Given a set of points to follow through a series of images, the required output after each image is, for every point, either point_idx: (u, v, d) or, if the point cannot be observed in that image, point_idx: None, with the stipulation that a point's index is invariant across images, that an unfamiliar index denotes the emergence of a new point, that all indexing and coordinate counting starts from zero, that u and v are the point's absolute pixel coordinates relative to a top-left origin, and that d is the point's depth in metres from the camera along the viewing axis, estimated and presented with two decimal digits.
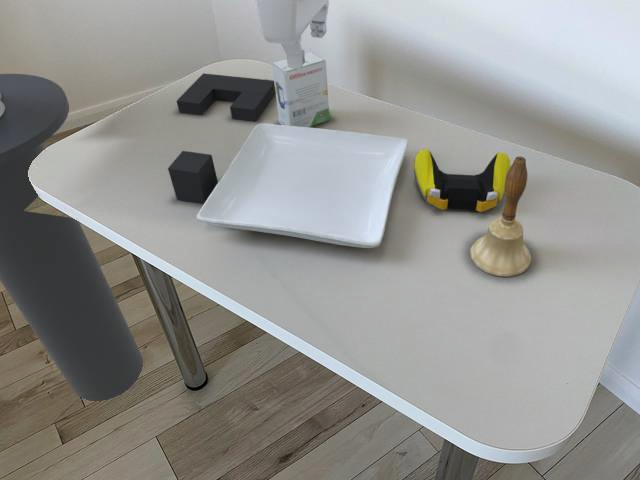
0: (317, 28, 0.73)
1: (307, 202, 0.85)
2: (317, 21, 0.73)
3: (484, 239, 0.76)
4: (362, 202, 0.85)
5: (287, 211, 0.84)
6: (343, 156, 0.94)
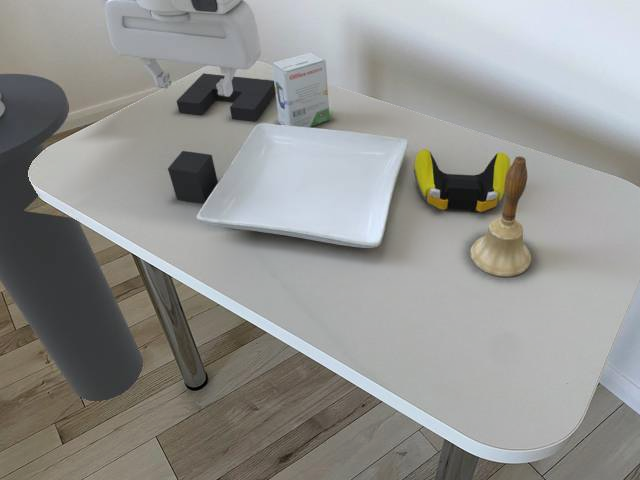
0: (166, 78, 0.77)
1: (307, 202, 0.85)
2: (159, 74, 0.76)
3: (484, 239, 0.76)
4: (362, 202, 0.85)
5: (287, 211, 0.84)
6: (343, 156, 0.94)
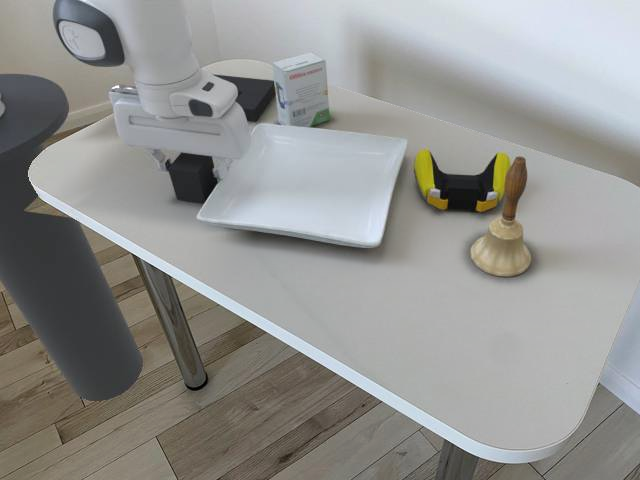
0: (168, 162, 0.86)
1: (307, 202, 0.85)
2: (162, 159, 0.86)
3: (484, 239, 0.76)
4: (362, 202, 0.85)
5: (287, 211, 0.84)
6: (343, 156, 0.94)
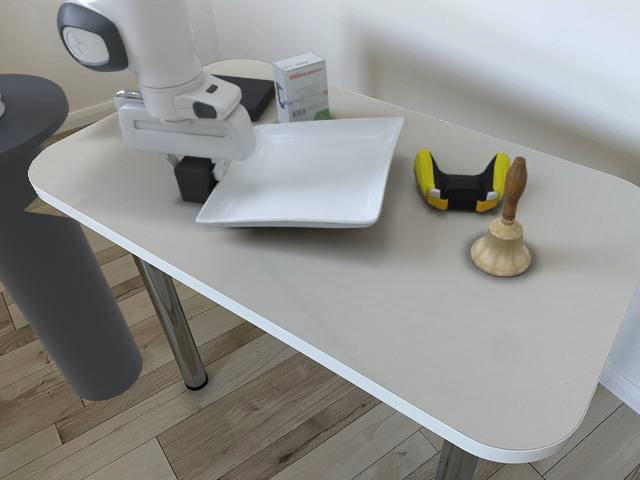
0: None
1: (306, 192, 0.84)
2: (176, 164, 0.86)
3: (484, 239, 0.76)
4: (361, 184, 0.83)
5: (286, 204, 0.83)
6: (341, 144, 0.92)
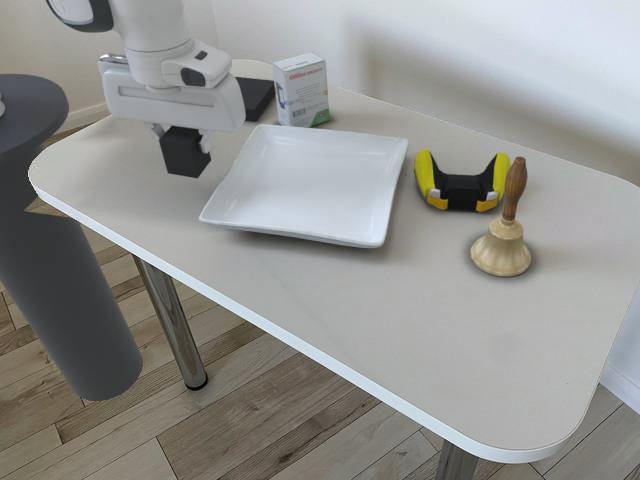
0: None
1: (309, 202, 0.85)
2: (162, 135, 0.83)
3: (484, 239, 0.76)
4: (364, 202, 0.85)
5: (289, 212, 0.84)
6: (344, 156, 0.94)
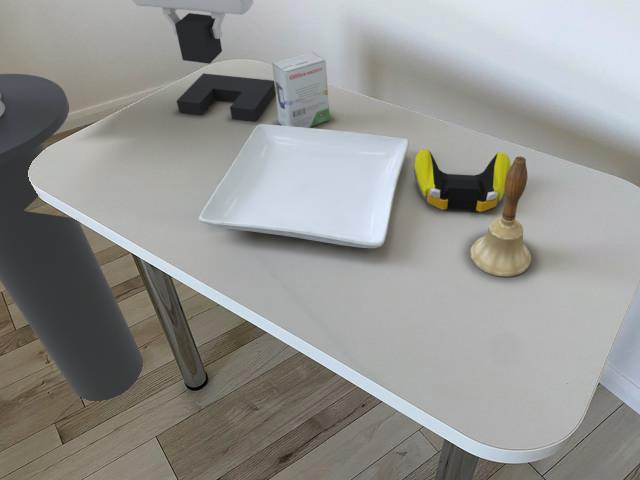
0: None
1: (309, 202, 0.85)
2: None
3: (484, 239, 0.76)
4: (364, 202, 0.85)
5: (289, 212, 0.84)
6: (344, 156, 0.94)
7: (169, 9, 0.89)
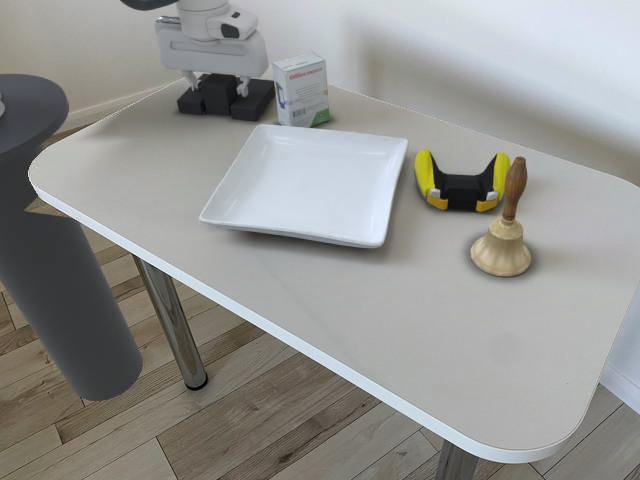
0: (199, 84, 1.06)
1: (309, 202, 0.85)
2: (195, 81, 1.06)
3: (484, 239, 0.76)
4: (364, 202, 0.85)
5: (289, 212, 0.84)
6: (344, 156, 0.94)
7: (188, 71, 1.04)
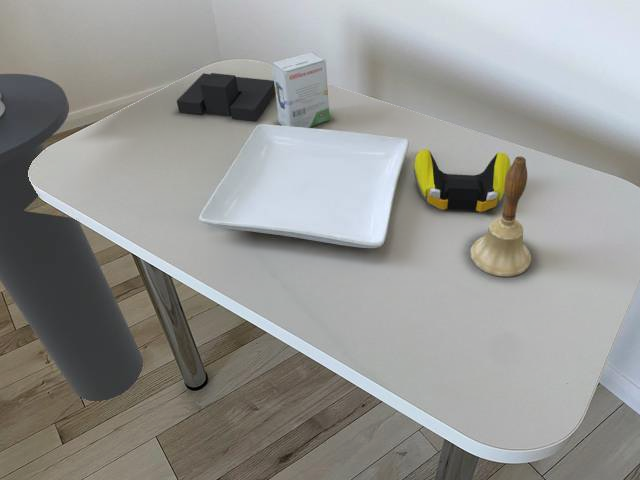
0: None
1: (309, 202, 0.85)
2: None
3: (484, 239, 0.76)
4: (364, 202, 0.85)
5: (289, 212, 0.84)
6: (344, 156, 0.94)
7: None
